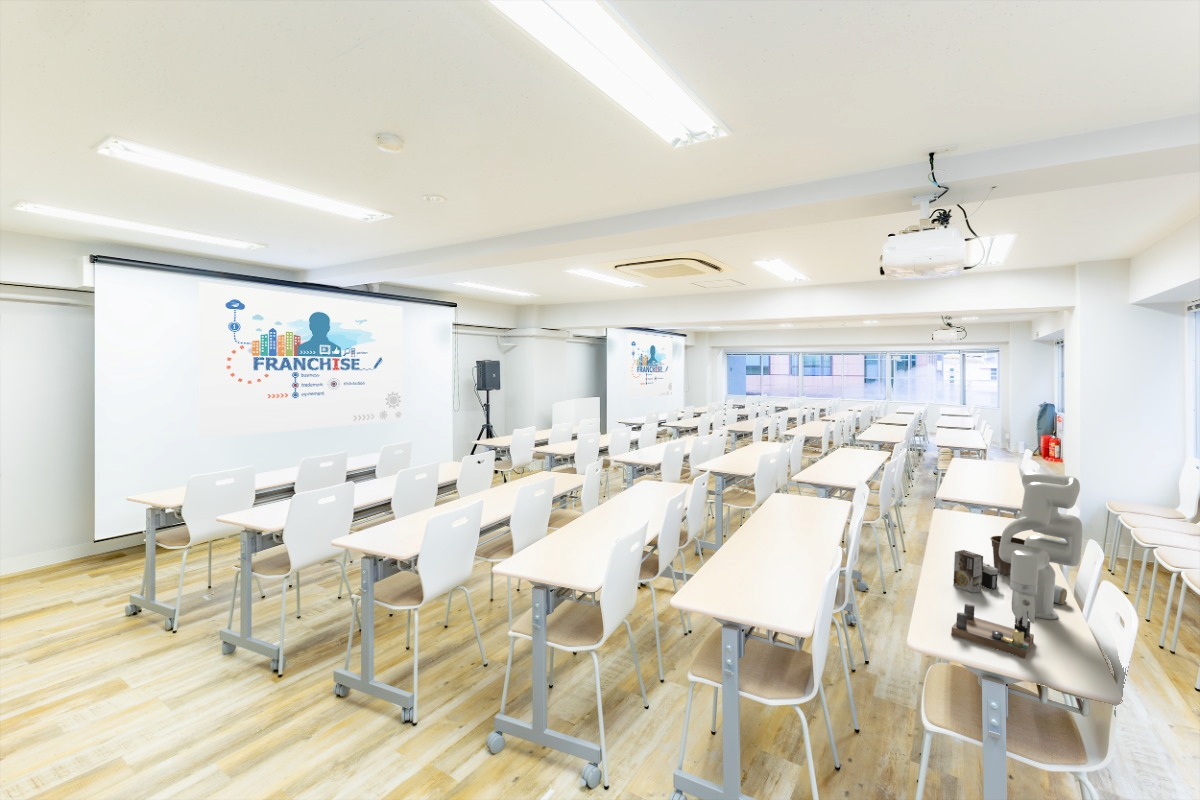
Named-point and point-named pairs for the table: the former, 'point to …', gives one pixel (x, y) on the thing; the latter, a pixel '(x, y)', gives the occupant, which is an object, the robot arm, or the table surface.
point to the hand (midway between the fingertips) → (1020, 636)
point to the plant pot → (998, 562)
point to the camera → (989, 576)
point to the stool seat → (988, 633)
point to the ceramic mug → (1059, 594)
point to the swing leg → (1016, 637)
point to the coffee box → (968, 571)
